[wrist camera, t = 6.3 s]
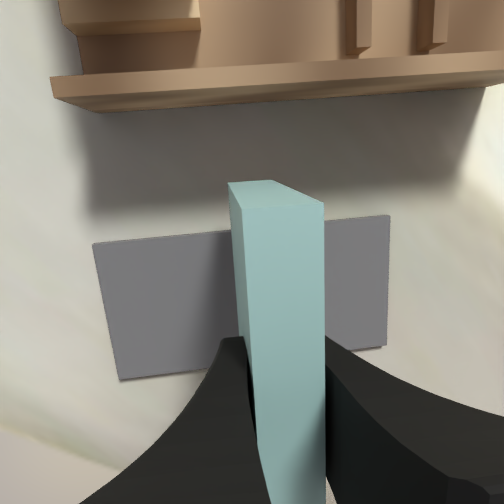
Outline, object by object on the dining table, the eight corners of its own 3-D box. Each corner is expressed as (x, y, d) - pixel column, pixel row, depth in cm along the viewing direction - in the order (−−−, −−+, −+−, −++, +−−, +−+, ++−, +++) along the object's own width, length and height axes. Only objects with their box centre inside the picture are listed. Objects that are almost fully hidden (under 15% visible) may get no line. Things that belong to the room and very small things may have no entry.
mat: (120, 375, 16) (118, 379, 16) (94, 243, 14) (91, 244, 14) (383, 341, 17) (386, 345, 17) (386, 214, 15) (390, 215, 15)
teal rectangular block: (246, 429, 15) (268, 603, 9) (227, 182, 12) (241, 209, 6) (282, 424, 15) (326, 593, 9) (271, 179, 12) (324, 202, 7)
